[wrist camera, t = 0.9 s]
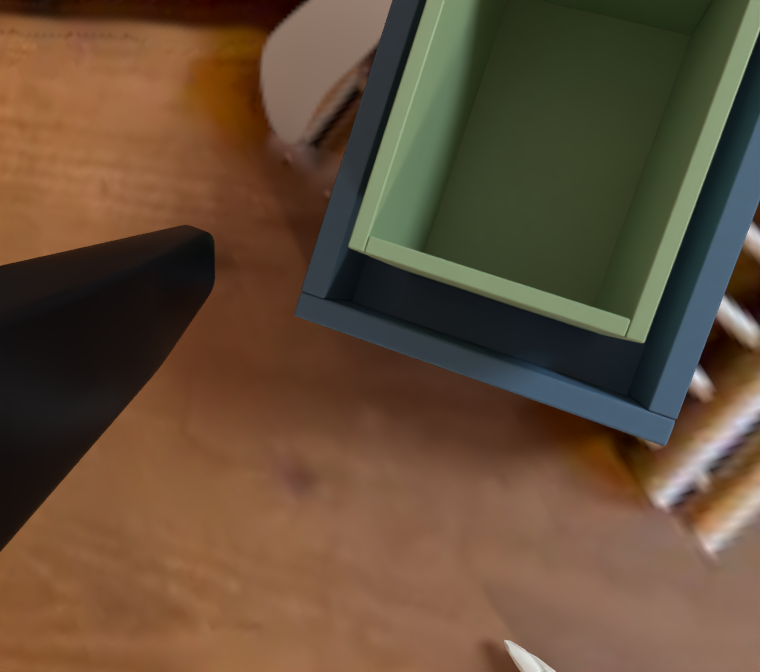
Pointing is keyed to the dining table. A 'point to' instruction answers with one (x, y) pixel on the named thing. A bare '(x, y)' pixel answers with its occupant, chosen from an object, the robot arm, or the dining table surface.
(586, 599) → the dining table surface
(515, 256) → the caddy
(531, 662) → the unicorn horn
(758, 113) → the box
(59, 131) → the dining table surface
